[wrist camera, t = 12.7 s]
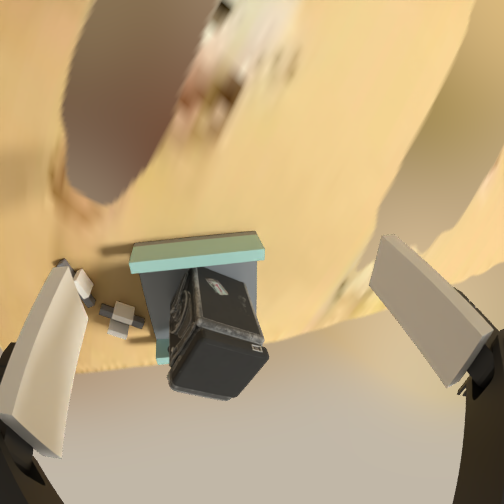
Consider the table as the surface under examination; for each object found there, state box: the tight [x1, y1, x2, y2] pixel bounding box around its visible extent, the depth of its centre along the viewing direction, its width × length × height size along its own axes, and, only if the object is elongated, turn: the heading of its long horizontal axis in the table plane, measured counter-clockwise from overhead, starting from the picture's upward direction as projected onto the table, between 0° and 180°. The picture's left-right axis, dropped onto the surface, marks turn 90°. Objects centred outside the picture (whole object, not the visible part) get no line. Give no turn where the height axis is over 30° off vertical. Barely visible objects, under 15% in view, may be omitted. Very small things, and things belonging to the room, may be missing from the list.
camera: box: [167, 267, 269, 401], centre depth 35 cm, size 10×10×15 cm
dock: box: [129, 231, 265, 365], centre depth 40 cm, size 18×16×5 cm
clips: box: [73, 269, 135, 340], centre depth 38 cm, size 13×5×3 cm, turn 40°
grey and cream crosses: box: [57, 259, 145, 329], centre depth 39 cm, size 16×4×1 cm, turn 40°
